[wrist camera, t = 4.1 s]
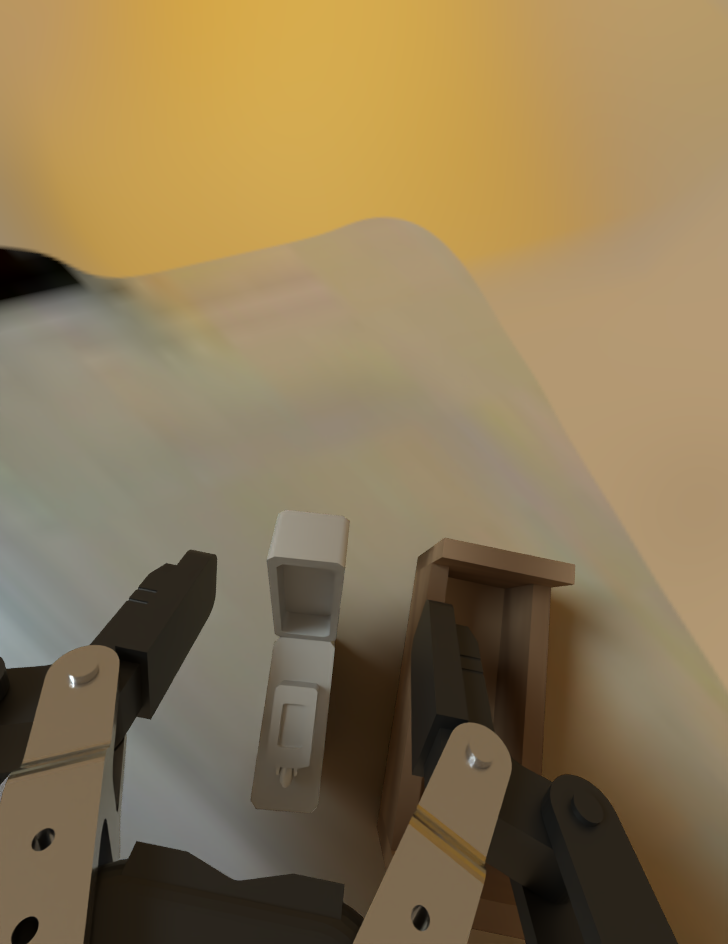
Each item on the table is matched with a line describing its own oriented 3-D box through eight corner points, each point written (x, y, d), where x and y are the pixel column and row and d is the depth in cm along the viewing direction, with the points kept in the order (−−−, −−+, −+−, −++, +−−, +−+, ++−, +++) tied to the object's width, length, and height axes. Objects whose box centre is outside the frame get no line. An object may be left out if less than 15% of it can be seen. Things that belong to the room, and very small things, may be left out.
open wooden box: (376, 826, 15) (394, 913, 10) (418, 556, 18) (444, 537, 13) (495, 851, 15) (562, 946, 10) (516, 577, 18) (574, 564, 13)
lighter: (321, 761, 15) (309, 905, 8) (271, 757, 15) (209, 897, 8) (343, 557, 17) (350, 511, 10) (300, 552, 17) (275, 502, 10)
